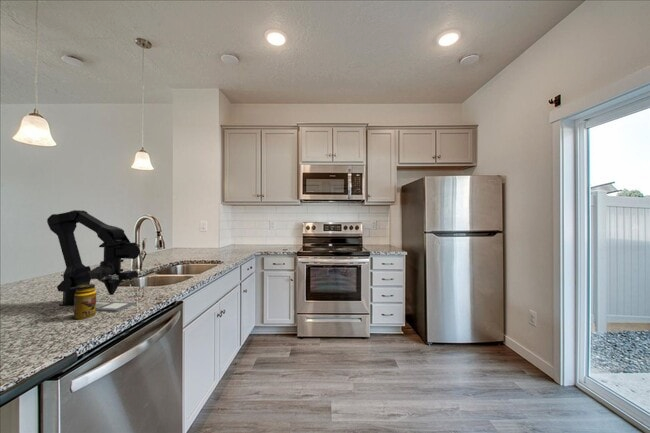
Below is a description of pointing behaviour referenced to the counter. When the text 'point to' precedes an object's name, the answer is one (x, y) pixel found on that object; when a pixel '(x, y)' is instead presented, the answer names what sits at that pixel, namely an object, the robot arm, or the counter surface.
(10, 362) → the counter surface
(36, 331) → the counter surface
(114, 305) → the mat
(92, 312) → the condiment
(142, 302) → the counter surface
